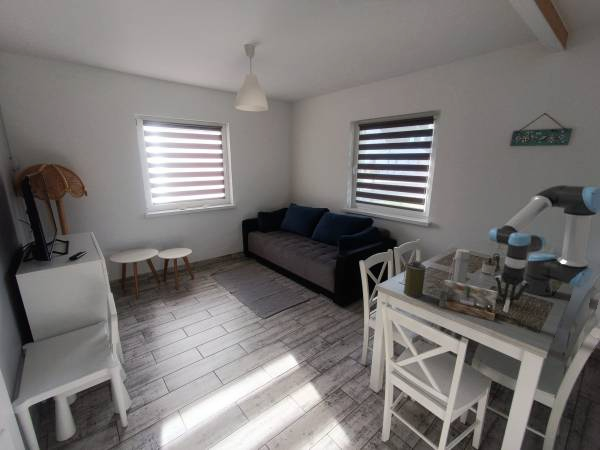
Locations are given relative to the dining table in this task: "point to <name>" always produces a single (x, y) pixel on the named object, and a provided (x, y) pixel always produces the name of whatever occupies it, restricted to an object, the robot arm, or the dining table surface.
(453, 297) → the brown wooden box
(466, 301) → the silver block with knob
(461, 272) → the water bottle
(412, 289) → the canister
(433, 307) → the dining table surface
